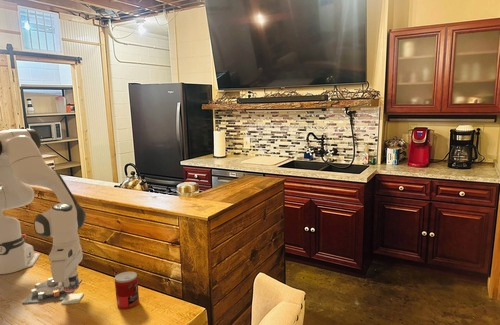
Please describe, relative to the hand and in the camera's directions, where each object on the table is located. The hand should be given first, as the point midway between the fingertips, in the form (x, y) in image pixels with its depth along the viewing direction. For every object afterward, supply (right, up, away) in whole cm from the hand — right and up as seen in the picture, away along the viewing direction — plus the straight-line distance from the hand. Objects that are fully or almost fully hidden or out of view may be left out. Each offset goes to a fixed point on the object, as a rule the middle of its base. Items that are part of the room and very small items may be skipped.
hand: (70, 281), depth 133 cm
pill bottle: (0, -3, 0) cm, 3 cm away
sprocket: (-11, -7, +8) cm, 15 cm away
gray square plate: (-11, -7, +8) cm, 15 cm away
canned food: (+23, -7, -3) cm, 24 cm away
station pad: (0, -7, +1) cm, 7 cm away
